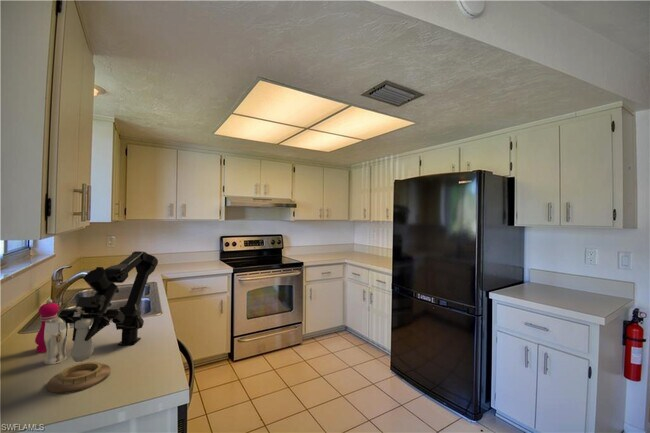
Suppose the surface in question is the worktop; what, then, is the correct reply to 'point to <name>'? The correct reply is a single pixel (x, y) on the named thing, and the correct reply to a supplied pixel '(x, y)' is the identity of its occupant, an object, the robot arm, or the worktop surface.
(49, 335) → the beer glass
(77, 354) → the salt shaker
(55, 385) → the ring tray
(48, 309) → the pepper mill
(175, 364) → the worktop surface
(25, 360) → the worktop surface
